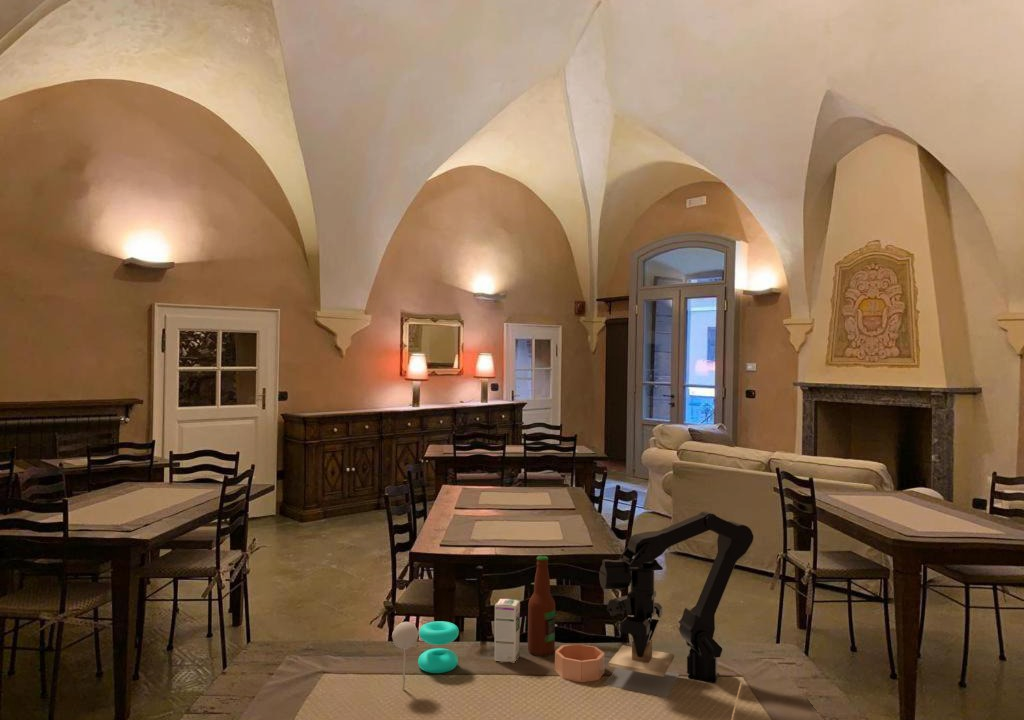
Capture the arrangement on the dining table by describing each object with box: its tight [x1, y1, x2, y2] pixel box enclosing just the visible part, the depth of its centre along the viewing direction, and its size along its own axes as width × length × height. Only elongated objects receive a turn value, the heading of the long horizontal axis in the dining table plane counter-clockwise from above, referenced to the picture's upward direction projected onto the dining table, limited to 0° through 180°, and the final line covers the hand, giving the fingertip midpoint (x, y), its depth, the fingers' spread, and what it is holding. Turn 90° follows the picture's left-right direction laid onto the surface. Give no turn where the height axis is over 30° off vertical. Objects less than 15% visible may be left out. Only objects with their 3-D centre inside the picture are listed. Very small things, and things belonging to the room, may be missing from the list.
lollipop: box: [391, 621, 420, 691], centre depth 146 cm, size 6×6×15 cm
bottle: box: [527, 555, 556, 657], centre depth 172 cm, size 7×7×25 cm
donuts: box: [417, 620, 460, 674], centre depth 159 cm, size 10×10×10 cm
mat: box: [603, 668, 680, 699], centre depth 153 cm, size 15×15×1 cm
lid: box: [608, 639, 675, 677], centre depth 153 cm, size 13×13×5 cm
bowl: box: [554, 643, 606, 683], centre depth 157 cm, size 11×11×5 cm
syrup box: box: [493, 598, 521, 662], centre depth 165 cm, size 6×6×14 cm
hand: (642, 654), depth 153 cm, fingers closed on lid, 4 cm apart
